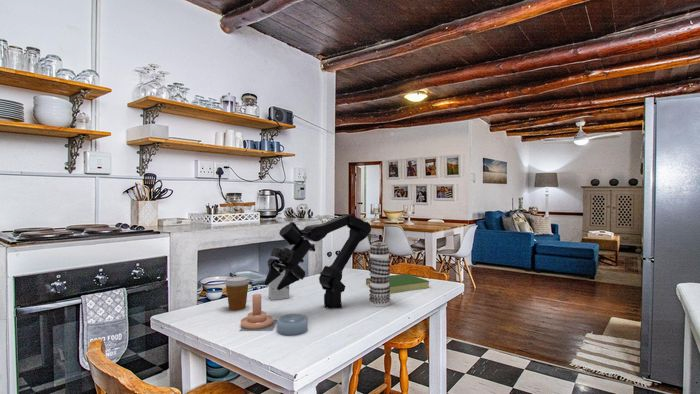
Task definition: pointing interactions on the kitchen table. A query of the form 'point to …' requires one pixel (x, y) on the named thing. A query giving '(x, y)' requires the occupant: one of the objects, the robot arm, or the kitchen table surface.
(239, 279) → the disposable coffee cup
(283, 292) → the skincare box
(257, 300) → the lid
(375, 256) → the white patterned cylinder
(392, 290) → the hardcover book
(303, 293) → the kitchen table surface
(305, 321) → the ramekin
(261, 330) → the mat
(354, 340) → the kitchen table surface
